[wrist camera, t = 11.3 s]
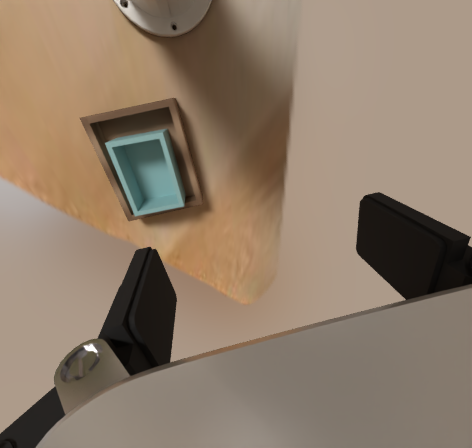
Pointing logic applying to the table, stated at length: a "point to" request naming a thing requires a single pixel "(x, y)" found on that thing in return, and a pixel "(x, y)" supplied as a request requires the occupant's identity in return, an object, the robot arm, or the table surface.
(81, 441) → the robot arm
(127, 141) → the teal crate
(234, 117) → the table surface
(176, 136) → the walnut crate
